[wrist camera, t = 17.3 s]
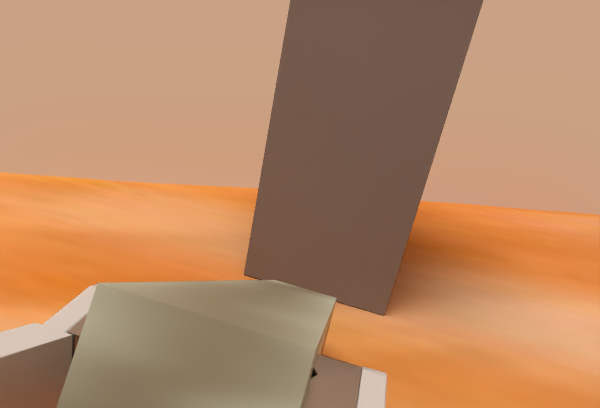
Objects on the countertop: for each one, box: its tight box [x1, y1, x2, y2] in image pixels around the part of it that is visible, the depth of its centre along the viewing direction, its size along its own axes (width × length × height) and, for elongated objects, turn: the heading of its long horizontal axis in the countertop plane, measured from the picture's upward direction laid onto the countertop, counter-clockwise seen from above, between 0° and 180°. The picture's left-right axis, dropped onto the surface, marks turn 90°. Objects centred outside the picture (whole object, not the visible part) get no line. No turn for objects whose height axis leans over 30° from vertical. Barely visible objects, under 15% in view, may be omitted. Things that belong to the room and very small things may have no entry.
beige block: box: [56, 280, 337, 408], centre depth 16 cm, size 4×19×3 cm, turn 167°
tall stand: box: [244, 0, 483, 315], centre depth 32 cm, size 14×12×26 cm
